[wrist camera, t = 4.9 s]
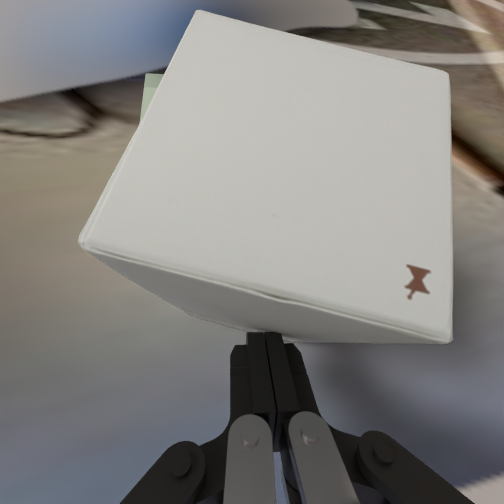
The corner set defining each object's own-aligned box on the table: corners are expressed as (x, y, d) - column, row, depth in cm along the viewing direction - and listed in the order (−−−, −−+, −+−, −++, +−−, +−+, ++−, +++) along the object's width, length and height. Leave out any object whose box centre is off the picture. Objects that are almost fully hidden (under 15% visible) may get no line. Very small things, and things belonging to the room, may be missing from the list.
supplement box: (315, 239, 19) (464, 67, 7) (295, 345, 16) (470, 361, 5) (217, 212, 19) (195, -4, 7) (182, 314, 16) (59, 249, 5)
